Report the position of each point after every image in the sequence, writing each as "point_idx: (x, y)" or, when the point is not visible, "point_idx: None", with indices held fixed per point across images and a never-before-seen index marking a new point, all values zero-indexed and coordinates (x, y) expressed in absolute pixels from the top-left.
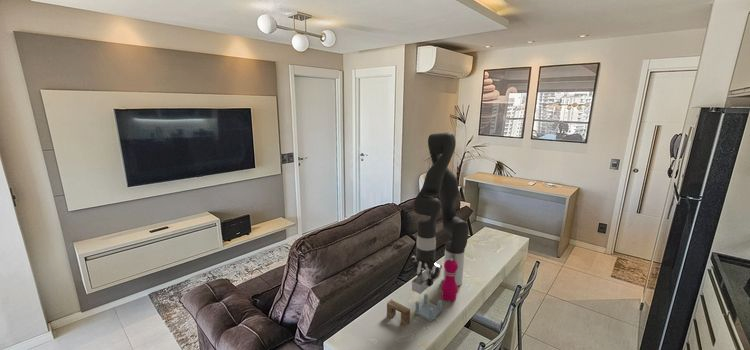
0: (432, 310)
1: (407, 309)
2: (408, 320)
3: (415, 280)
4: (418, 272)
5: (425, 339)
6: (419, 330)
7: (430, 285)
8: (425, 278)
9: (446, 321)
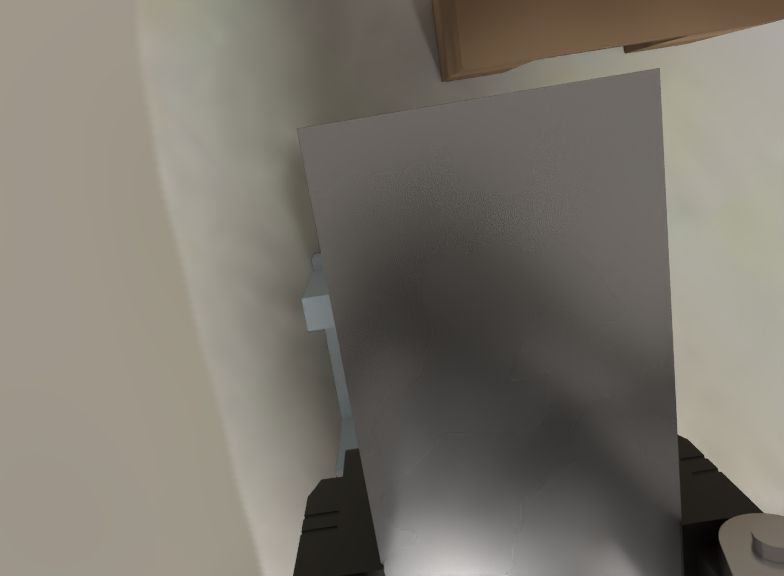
0: (303, 304)
1: (487, 34)
2: (441, 47)
3: (596, 202)
4: (771, 563)
5: (173, 14)
6: (298, 67)
7: (334, 480)
8: (438, 515)
9: (224, 362)
